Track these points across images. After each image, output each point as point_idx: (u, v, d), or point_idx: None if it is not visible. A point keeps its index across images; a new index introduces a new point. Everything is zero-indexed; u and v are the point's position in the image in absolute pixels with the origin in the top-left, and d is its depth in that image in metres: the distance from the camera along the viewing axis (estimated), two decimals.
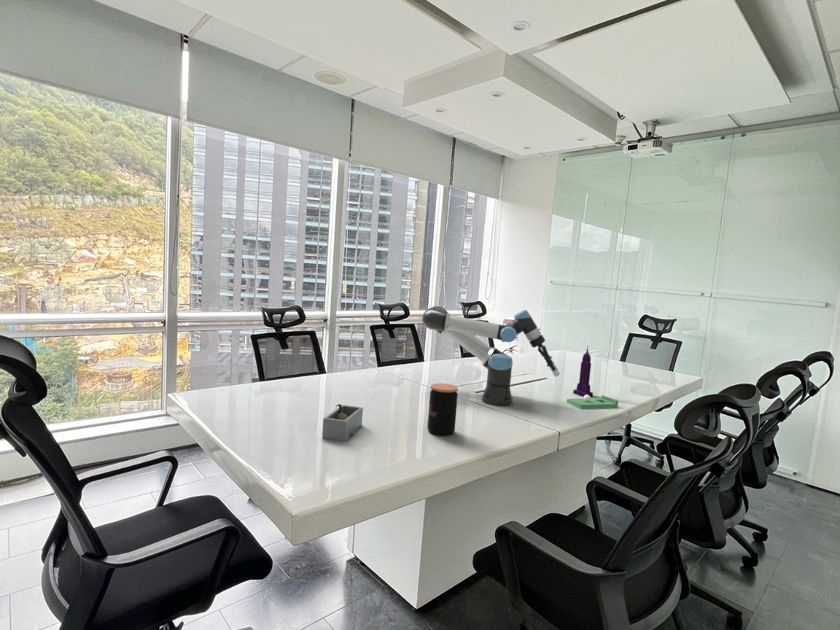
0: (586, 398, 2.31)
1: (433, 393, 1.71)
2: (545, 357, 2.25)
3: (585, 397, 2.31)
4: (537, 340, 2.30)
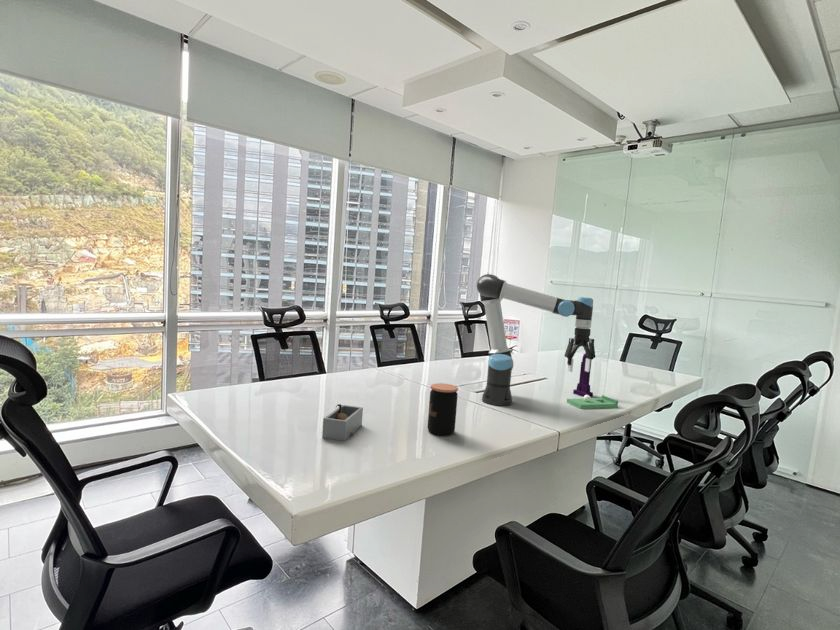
0: (586, 398, 2.31)
1: (433, 393, 1.71)
2: (567, 349, 2.26)
3: (585, 397, 2.31)
4: (577, 330, 2.25)
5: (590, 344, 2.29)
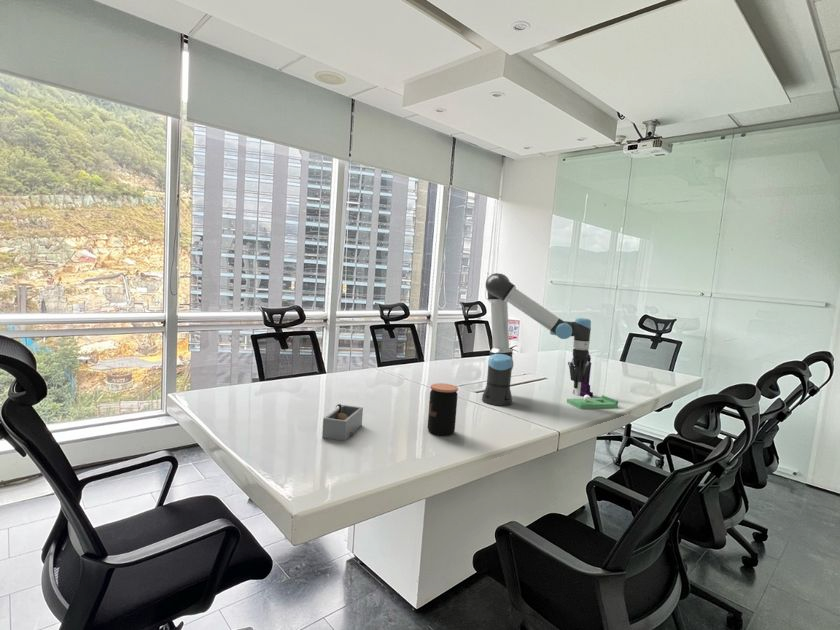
0: (586, 398, 2.31)
1: (433, 393, 1.71)
2: (570, 373, 2.28)
3: (585, 397, 2.31)
4: (575, 351, 2.26)
5: (586, 366, 2.30)
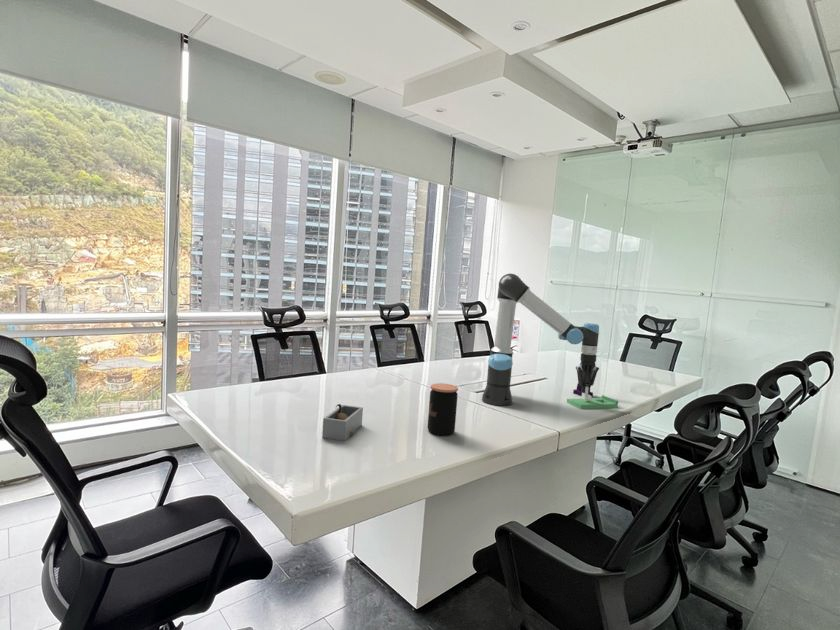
0: (588, 397, 2.31)
1: (433, 393, 1.71)
2: (578, 377, 2.29)
3: None
4: (583, 356, 2.28)
5: (593, 371, 2.31)
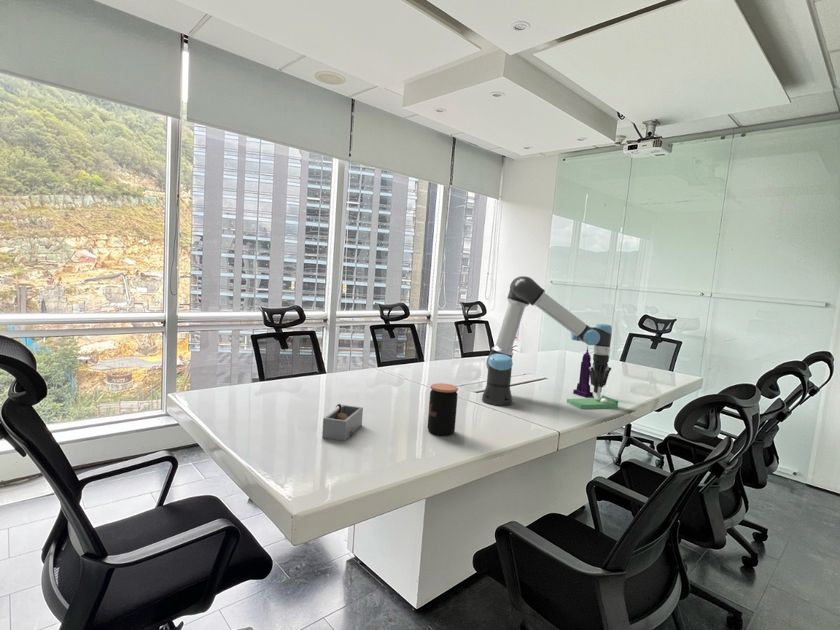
0: (603, 401, 2.34)
1: (433, 393, 1.71)
2: (591, 377, 2.32)
3: (602, 400, 2.35)
4: (595, 356, 2.31)
5: (605, 371, 2.34)
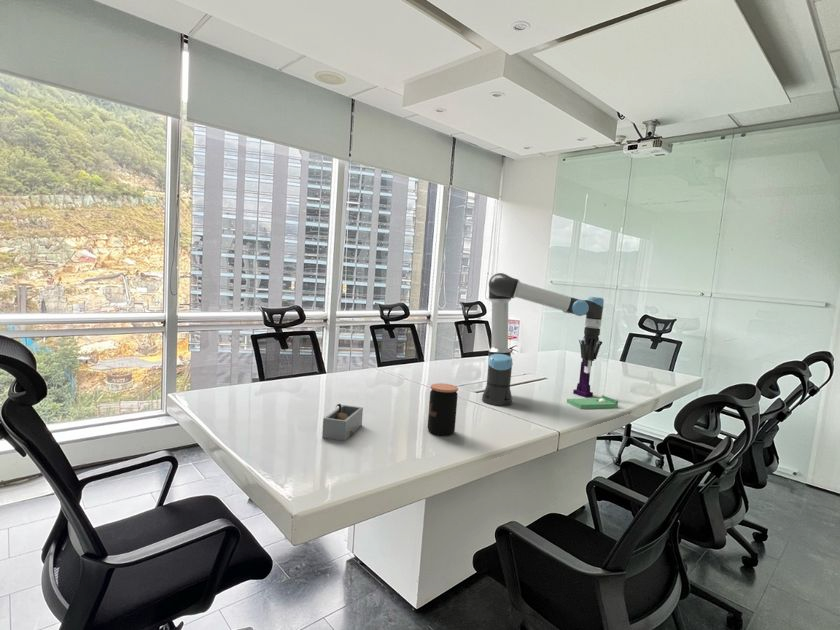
0: None
1: (433, 393, 1.71)
2: (581, 351, 2.29)
3: None
4: (586, 329, 2.27)
5: (596, 345, 2.31)
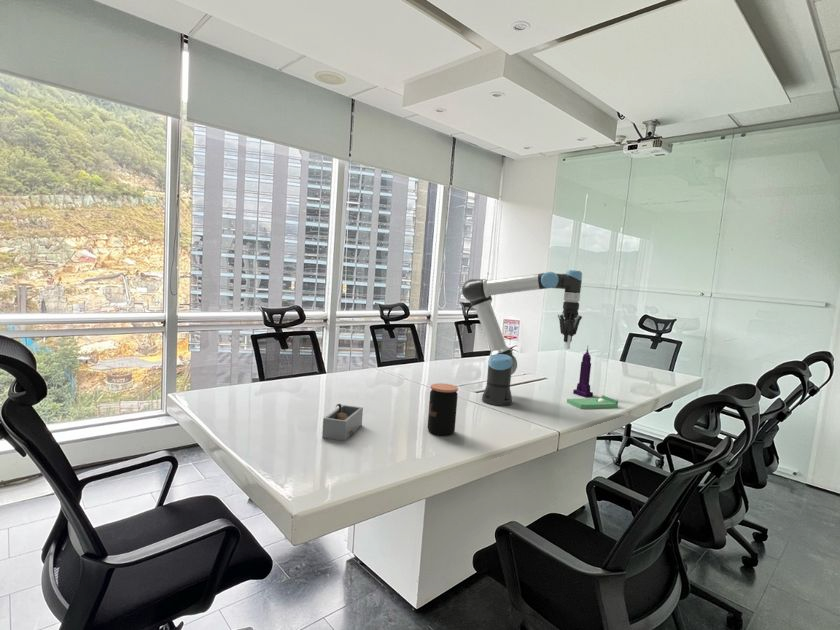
0: None
1: (433, 393, 1.71)
2: (560, 326, 2.24)
3: None
4: (565, 303, 2.22)
5: (576, 320, 2.26)
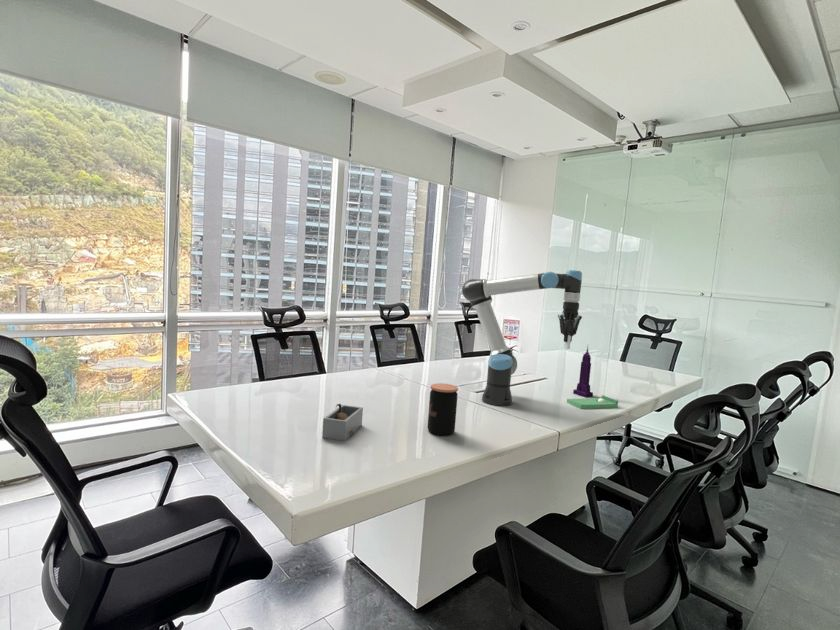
0: None
1: (433, 393, 1.71)
2: (560, 326, 2.24)
3: None
4: (565, 303, 2.22)
5: (576, 320, 2.26)
